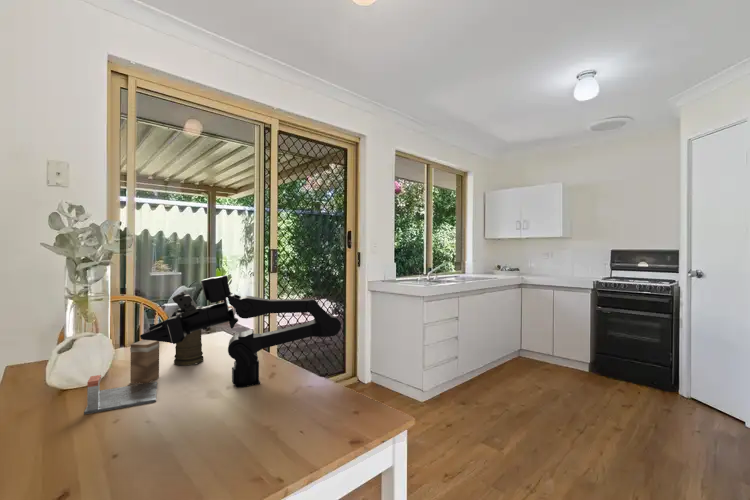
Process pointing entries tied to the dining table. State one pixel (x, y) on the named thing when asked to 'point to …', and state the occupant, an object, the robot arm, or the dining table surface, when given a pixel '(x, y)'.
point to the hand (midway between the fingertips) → (145, 333)
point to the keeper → (117, 396)
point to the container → (189, 349)
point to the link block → (144, 361)
